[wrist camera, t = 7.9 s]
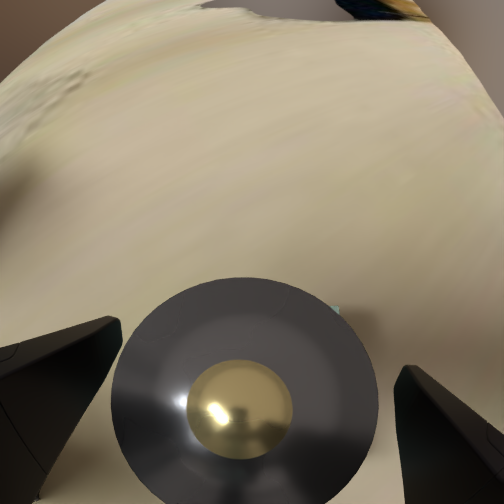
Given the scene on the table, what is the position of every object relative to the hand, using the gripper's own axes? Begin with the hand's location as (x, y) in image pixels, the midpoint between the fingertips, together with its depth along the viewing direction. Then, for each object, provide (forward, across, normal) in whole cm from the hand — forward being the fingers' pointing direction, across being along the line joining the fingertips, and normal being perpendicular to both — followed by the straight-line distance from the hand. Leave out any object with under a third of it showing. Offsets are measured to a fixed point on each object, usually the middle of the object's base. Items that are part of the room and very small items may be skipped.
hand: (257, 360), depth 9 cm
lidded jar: (+5, 0, +6) cm, 8 cm away
